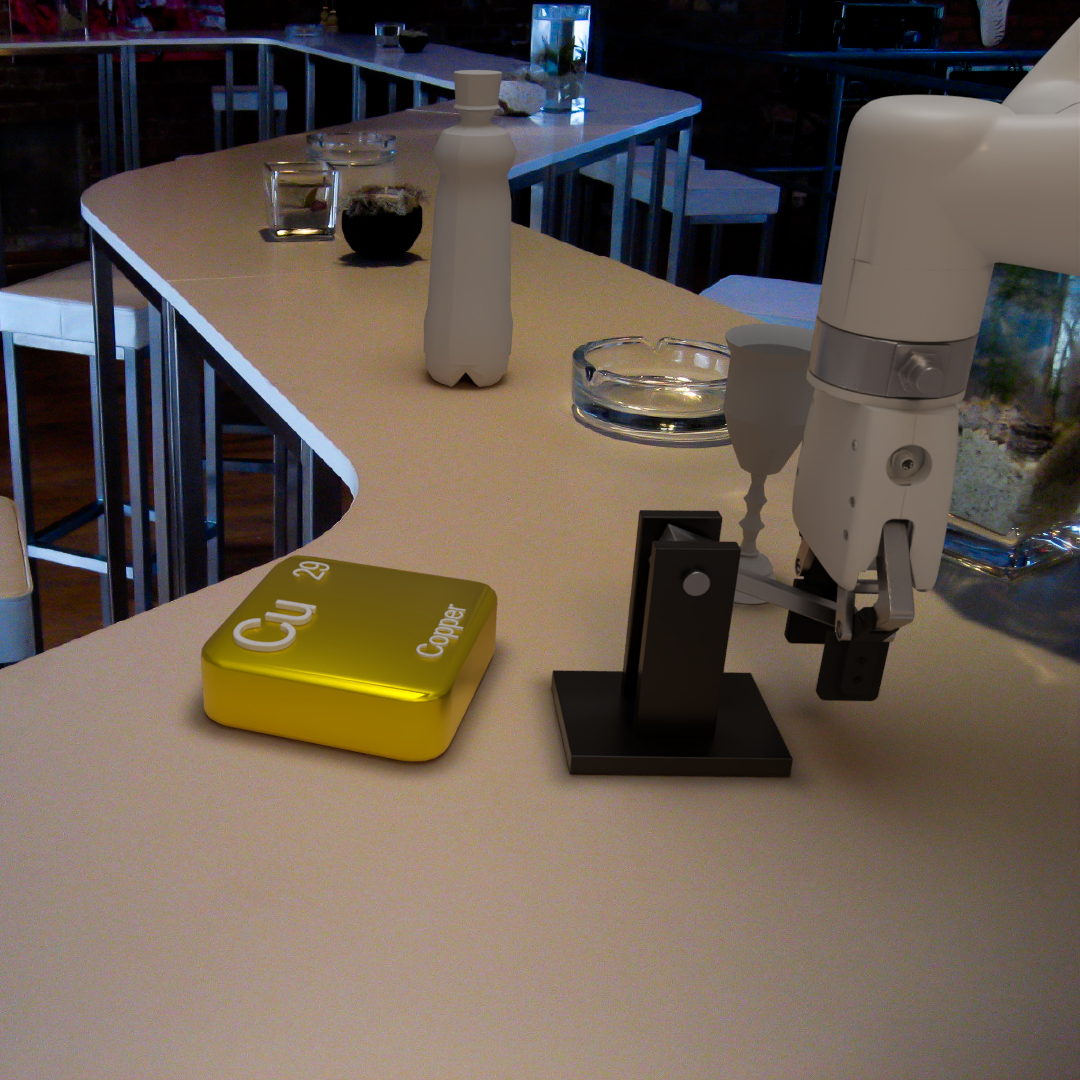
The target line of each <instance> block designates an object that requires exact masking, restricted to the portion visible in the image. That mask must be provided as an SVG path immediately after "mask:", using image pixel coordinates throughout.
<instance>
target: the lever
mask: <svg viewBox="0 0 1080 1080" xmlns="http://www.w3.org/2000/svg"><path fill="white" fill-rule="evenodd" d="M659 541H713V540H710V539H708V538H705V537H702V536H700V535H697V534H694V533H692V532H689V531H686V530H684V529H681V528H678V527H676V526H673V525H670V524H668V525H667V527H666V528H665V530H664V532H663V534H662V536H661V538H660V539H659ZM650 560H651V556H650V558H649V562H650ZM736 590H737V591H739V592H742V593H745V594H747V595H750V596H753V597H756V598H758V599H761V600H764V601H766V603H769V604H772V605H774V606H778V607H780V608H783V609H786V610H791V611H794V612H796V613H799V614H802V615H804V616H807V617H810V618H813V619H815V620H818V621H821V622H823V623H826V624H829V625H832V626H834V627H835V620H836V605H837V590H838V587H837V586H832V587H829V588H827V589H825V590H824V591H823V592H822V594H821V597H819V596H817V595H814V594H811V593H809V592H806V591H803V590H801V589H798V588H795V587H793V585H789V584H787V583H784V582H781V581H779V580H777V579H776V580H774V579H771V578H768V577H766V576H763V575H760V574H757V573H755V572H752V571H749V570H747V569H744V568H741V567H739V569H738V576H737V583H736ZM858 611H859V609H858V608H857V607H856V606H855V610H854V614H855V613H857V612H858Z"/></svg>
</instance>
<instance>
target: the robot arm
mask: <svg viewBox="0 0 1080 1080" xmlns="http://www.w3.org/2000/svg"><path fill="white" fill-rule="evenodd" d="M839 174H840V175H839V181H838V185H837V186H838V187H837V192H836V200H835V204H834V210H833V217H832V224H831V230H830V236H829V241H828V245H827V246H828V247H827V253H826V259H825V260H826V261H825V265H824V270H823V276H822V281H821V286H820V293H819V299H818V304H817V305H818V306H817V313H816V316H815V323H814V328H813V331H814V334H813V340H812V346H811V352H810V358H809V364H808V370H807V375H806V378H807V381H808V382H809V383H810V384H811V386H813V387H814V388H815V390H814V394H813V398H812V402H811V406H810V410H809V414H808V418H807V422H806V427H805V431H804V435H803V440H802V442H801V445H800V451H799V455H798V460H797V465H796V472H795V478H794V483H793V492H792V501H791V502H792V504H791V508H792V509H791V513H792V518H793V522H794V524H795V526H796V528H797V530H798V536H799V537H800V540H801V542H800V545H799V548H798V551H797V554H796V555H795V556H796V557H795V559H794V573H795V576H796V577H801V578H793V582H792V587H795V588H798V589H801V590H803V591H806V592H809V593H811V594H814V595H817V596H819V597H821V594H822V592H823V591H824V590H825V589H827V588H829V587H832V586H837V587H838V590H837V605H836V620H835V627H834V626H832V625H829V624H826V623H823V622H821V621H818V620H815V619H813V618H810V617H807V616H804V615H802V614H799V613H796V612H794V611H791V610H788V609H787V610H788V611H787V615H786V622H785V626H784V633H783V634H784V635H783V636H784V638H785V639H786V641H787V643H789V644H792V645H793V644H794V645H797V644H798V645H823V649H822V655H821V659H820V660H821V661H820V666H819V670H818V671H819V672H818V676H817V681H816V686H815V693H816V694H817V696H818V698H819V699H820V700H821V701H828V702H831V701H833V702H874V701H876V700H877V699H878V698H879V694H880V691H881V685H882V681H883V677H884V672H885V668H886V667H885V666H886V663H887V658H888V653H889V648H890V646H891V645H890V644H891V643H893V642H894V641H895V640H896V634H897V632H898V631H899V630H900V629H901V628H903V627H905V626H907V625H909V624H911V623H913V621H914V620H915V615H916V612H915V611H916V610H915V609H916V608H915V599H914V590H915V591H917V592H918V593H929V592H930V591H931V590H932V589H933V588H934V586H935V585H936V582H937V579H938V575H939V570H940V566H941V560H942V556H943V550H944V546H945V540H946V534H947V528H948V522H949V518H950V517H949V516H950V510H951V504H952V499H953V491H954V484H955V476H956V466H957V457H958V442H959V419H960V418H959V417H960V409H959V408H958V406H957V404H959V403H961V402H962V401H963V400H964V399H965V396H966V391H967V385H968V382H969V377H970V373H971V369H972V365H973V360H974V355H975V351H976V346H977V343H978V338H979V333H980V329H981V323H982V319H983V315H984V312H985V311H984V310H985V306H986V302H987V298H988V293H989V290H990V285H991V281H992V276H993V271H994V267H995V264H996V263H1002V264H1009V265H1014V266H1021V267H1026V268H1032V269H1038V270H1043V271H1048V272H1053V273H1058V274H1064V275H1070V276H1076V277H1080V17H1078V19H1077V20H1075V21H1074V23H1073V24H1072V25H1071V26H1070V27H1069V28H1068V29H1067V30H1066V31H1065V32H1064V33H1063V34H1062V35H1061V37H1060V38H1059V39H1058V40H1057V41H1056V42H1055V43H1054V44H1053V45H1052V46H1051V47H1050V49H1049V50H1048V51H1047V52H1046V53H1045V54H1044V55H1043V56H1042V57H1041V59H1039V60H1038V62H1037V63H1036V64H1035V65H1034V66H1033V67H1032V68H1031V69H1030V70H1029V72H1028V73H1027V74H1026V75H1025V76H1024V77H1023V78H1022V79H1021V81H1020V82H1019V83H1018V84H1017V85H1016V86H1015V87H1014V89H1012V91H1011V92H1010V93H1009V94H1008V96H1006V98H1005V99H1004V100H1003V101H1002V103H998V102H994V101H990V100H985V99H980V98H974V97H965V96H956V95H955V96H954V95H939V94H902V95H892V96H884V97H880V98H877V99H873V100H871V101H868V102H867V103H866V104H865V105H863V106H861V108H859V110H858V111H857V112H856V113H855V115H854V117H853V118H852V120H851V122H850V124H849V127H848V131H847V136H846V141H845V144H844V150H843V157H842V161H841V168H840V173H839ZM867 571H876V578H877V579H875V578H874V579H873V578H872V579H870V578H869V579H866V578H865V579H864V578H861V579H860V578H859V577H860V576H859V575H860V573H866V572H867ZM857 594H858V595H878V596H877V600H876V602H875V603H873V605H872V606H863V607H861V609H858V612H857V613H855V614H854V610H855V607H856V595H857Z"/></svg>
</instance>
